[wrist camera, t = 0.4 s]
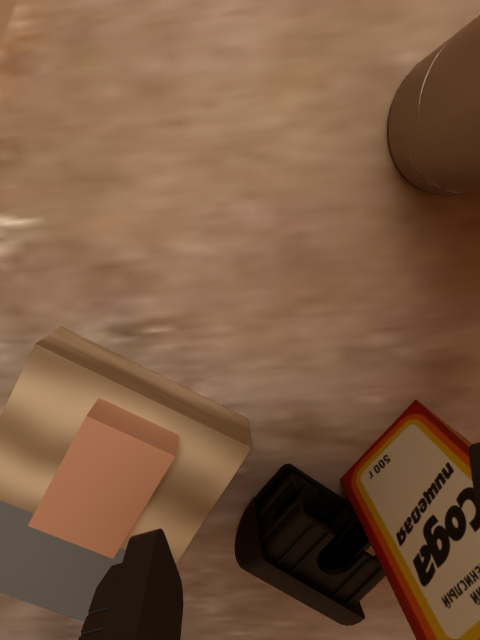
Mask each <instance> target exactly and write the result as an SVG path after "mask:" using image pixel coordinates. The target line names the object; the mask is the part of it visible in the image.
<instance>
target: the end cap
mask: <svg viewBox="0 0 480 640" xmlns="http://www.w3.org/2000/svg"><path fill="white" fill-rule="evenodd" d="M370 546H371V543H370V541H369V539H368V537H367V535H366V533H365V531H364V528H363V526H362V524H361V522H360V520H359V518H358V516H357V514H356V512H355V510H354V508H353V505H352V504H351V503H349V502H347V501H346V500H344V499H343V498H341V497H340V496H338V495H337V494H335V493H334V492H332V491H331V490H329V489H328V488H326V487H325V486H323V485H322V484H320V483H319V482H317V481H316V480H314V479H313V478H311V477H309V476H308V475H306V474H305V473H303V472H302V471H300V470H299V469H297V468H296V467H294V466H293V465H291V464H285V465H283V466H282V467H281V468H280V469H279V470H278V472H277V473H276V474H275V475H274V476H273V477H272V478H271V479H270V481H269V482H268V483H267V484H266V485H265V486H264V487H263V488H262V490H261V491H260V492H259V493H258V494H257V496H256V497H254V498H253V500H252V501H251V502H250V504H249V505H248V507H247V508H246V510H245V512H244V514H243V516H242V518H241V521H240V523H239V526H238V529H237V534H236V539H235V556H236V560H237V563H238V564H239V566H240V567H241V568H242V569H244V570H245V571H247V572H249V573H251V574H252V575H254V576H256V577H258V578H259V579H261V580H263V581H265V582H267V583H268V584H270V585H272V586H274V587H275V588H277V589H279V590H281V591H283V592H284V593H286V594H288V595H290V596H291V597H293V598H295V599H297V600H299V601H300V602H302V603H304V604H306V605H307V606H309V607H311V608H313V609H314V610H316V611H318V612H320V613H322V614H323V615H325V616H327V617H329V618H330V619H332V620H334V621H336V622H338V623H339V624H342V625H346V626H349V625H354V624H357V623H359V622H361V621H362V620H363V619H364V618H365V615H364V613H363V610H362V607H361V605H360V602H359V601H360V600H361V599H362V598H363V597H364V596H365V595H366V594H367V593H368V592H369V591H370V590H371V589H372V588H374V587H375V586H376V585H377V584H378V583H379V582H380V581H381V580H382V579H383V578H384V577H385V576H386V574H385V572H384V570H383V568H382V566H381V564H380V562H379V560H378V558H377V556H376V555H375V556H372V555H370V554H369V553H367V552H366V550H367V549H368V548H369V547H370Z"/></svg>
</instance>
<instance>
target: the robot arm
mask: <svg viewBox="0 0 480 640" xmlns="http://www.w3.org/2000/svg"><path fill="white" fill-rule="evenodd" d="M388 139H389V144H390V150H391V154H392V156H393V158H394V161H395V163H396V166H397V167H398V168H399V170H400V171H401V173H402V174H403V176H404V177H405V178H406V179H407V180H409V181H410V182H411V183H412V184H413V185H414V186H416V187H418V188H420V189H422V190H424V191H426V192H430V193H434V194H438V195H453V194H461V193H470V192H478V191H480V15H479V16H478V17H477V18H475V19H474V20H473V21H471V22H470V23H469V24H468V25H466V26H465V27H464V28H462V29H461V30H460V31H458V32H457V33H456V34H455V35H453V36H452V37H451V38H450V39H448V40H447V41H446V42H445V43H443V44H442V45H441V46H440V47H438V48H437V49H436V50H435V51H433V52H432V53H431V54H430V55H428V56H427V57H426V58H425V59H423V60H422V61H421V62H419V63H418V64H417V65H416V66H415V67H414V68H413V70H412V71H411V72H410V73H409V74H408V75H407V76H406V78H405V79H404V81H403V82H402V84H401V86H400V87H399V89H398V91H397V93H396V96H395V98H394V101H393V103H392V106H391V111H390V116H389V121H388ZM469 460H470V467H471V475H472V482H473V490H474V497H475V500H476V503H477V506H478V508H479V510H480V443H476V444H472V445H470V447H469ZM182 613H183V590H182V583H181V579H180V575H179V572H178V570H177V567H176V564H175V561H174V558H173V556H172V553H171V550H170V547H169V544H168V541H167V539H166V536H165V533H164V531H163V530H162V529H156V530H152V531H149V532H145V533H141V534H138V535H134V536H131V537H130V539H129V541H128V544H127V548H126V551H125V555H124V558H123V561H122V563H119V564H116V565H112V566H111V567H110V569H109V570H108V571H107V573H106V574H105V576H104V577H103V579H102V580H101V582H100V583H99V585H98V586H97V587H96V590H95V593H94V596H93V599H92V602H91V605H90V608H89V610H88V616H86V619H85V622H84V625H83V628H82V631H81V637H79V639H78V640H180V636H181V625H182Z"/></svg>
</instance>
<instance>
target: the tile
mask: <svg viewBox="0 0 480 640" xmlns="http://www.w3.org/2000/svg"><path fill="white" fill-rule="evenodd" d="M178 440H179V435H178V434H176V433H174V432H172V431H169V430H167V429H165V428H163V427H161V426H159V425H157V424H155V423H152V422H150V421H148V420H146V419H144V418H142V417H140V416H137V415H135V414H133V413H131V412H129V411H127V410H125V409H122V408H120V407H118V406H116V405H114V404H112V403H110V402H108V401H105V400H103V399H101V398H98V399H97V401H96V402H95V404H94V405H93V407H92V408H91V410H90V411H89V412H88V414H87V415H86V417H85V419H84V421H83V423H82V425H81V427H80V428H79V430H78V432H77V434H76V436H75V438H74V440H73V442H72V444H71V445H70V447H69V449H68V451H67V453H66V455H65V457H64V459H63V460H62V462H61V464H60V466H59V468H58V470H57V472H56V474H55V475H54V477H53V479H52V481H51V483H50V485H49V487H48V489H47V490H46V492H45V494H44V496H43V498H42V500H41V502H40V504H39V505H38V507H37V509H36V511H35V513H34V515H33V517H32V519H31V521H30V522H29V524H28V526H30V527H32V528H35V529H37V530H40V531H42V532H45V533H48V534H50V535H53V536H55V537H58V538H61V539H63V540H66V541H68V542H71V543H73V544H76V545H79V546H81V547H84V548H86V549H89V550H92V551H94V552H97V553H99V554H102V555H104V556H107V557H110V558H112V559H113V558H114V557H115V555H116V553H117V552H118V550H119V549H120V547H121V545H122V544H123V542H124V540H125V539H126V537H127V535H128V534H129V532H130V530H131V529H132V527H133V525H134V524H135V522H136V521H137V519H138V517H139V516H140V514H141V512H142V511H143V509H144V507H145V506H146V504H147V502H148V501H149V499H150V497H151V496H152V494H153V493H154V491H155V489H156V488H157V486H158V484H159V483H160V481H161V479H162V478H163V476H164V474H165V473H166V471H167V469H168V468H169V466H170V465H171V463H172V461H173V460H174V458H175V456H176V451H177V445H178Z"/></svg>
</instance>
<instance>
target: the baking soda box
mask: <svg viewBox="0 0 480 640" xmlns="http://www.w3.org/2000/svg"><path fill="white" fill-rule="evenodd" d="M470 445H472V444H471V443H470V442H469V441H468V440H466V439H465V438H464V437H463V436H461V435H460V434H459V433H457V432H456V431H455V430H454V429H452V428H451V427H450V426H449V425H447V424H446V423H445V422H444V421H442V420H441V419H440V418H438V417H437V416H436V415H435V414H433V413H432V412H431V411H430V410H428V409H427V408H426V407H425V406H423V405H422V404H421V403H419V402H418V401H417V400H415V401H414V402H413V403H412V404H411V405H410V406H409V407H408V408H407V409H406V410H405V411H404V412H403V414H402V415H401V416H400V417H399V418H398V419H397V420H396V421H395V422H394V423H393V424H392V425H391V426H390V427H389V428H388V429H387V430H386V431H385V432H384V434H383V435H382V436H381V437H380V438H379V439H378V440H377V441H376V442H375V443H374V444H373V445H372V446H371V447H370V448H369V449H368V450H367V451H366V452H365V454H364V455H363V456H362V457H361V458H360V459H359V460H358V461H357V462H356V463H355V464H354V465H353V466H352V467H351V468H350V469H349V470H348V471H347V472H346V474H345V475H344V476H343V477H342V478H341V479H340V480H341V483H342V485H343V487H344V489H345V491H346V493H347V495H348V497H349V499H350V501H351V503H352V505H353V508H354V510H355V512H356V514H357V516H358V518H359V520H360V522H361V524H362V526H363V528H364V531H365V533H366V535H367V537H368V539H369V541H370V543H371V545H372V547H373V549H374V551H375V554H376V556H377V558H378V560H379V562H380V564H381V566H382V568H383V570H384V572H385V574H386V577H387V579H388V581H389V583H390V585H391V587H392V589H393V591H394V593H395V595H396V597H397V599H398V602H399V604H400V606H401V608H402V610H403V612H404V614H405V616H406V618H407V620H408V622H409V625H410V627H411V629H412V631H413V633H414V635H415V637H416V639H417V640H480V510H479V508H478V506H477V503H476V500H475V497H474V490H473V482H472V475H471V467H470V460H469V447H470Z"/></svg>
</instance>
